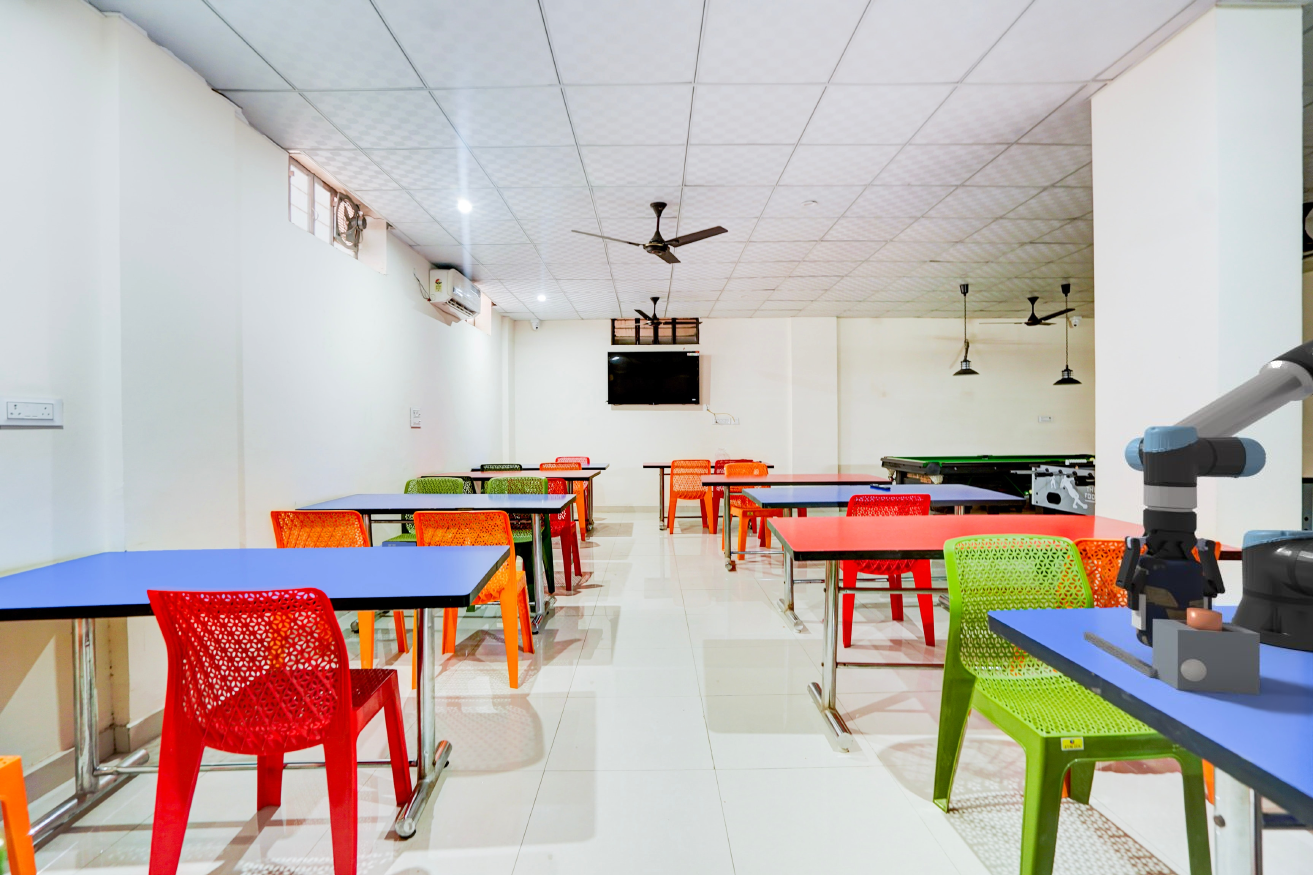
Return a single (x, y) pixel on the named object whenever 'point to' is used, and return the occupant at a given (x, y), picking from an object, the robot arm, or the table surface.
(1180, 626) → the end cabinet
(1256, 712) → the table surface
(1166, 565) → the canister
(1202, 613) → the button
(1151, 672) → the rail track
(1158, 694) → the table surface
